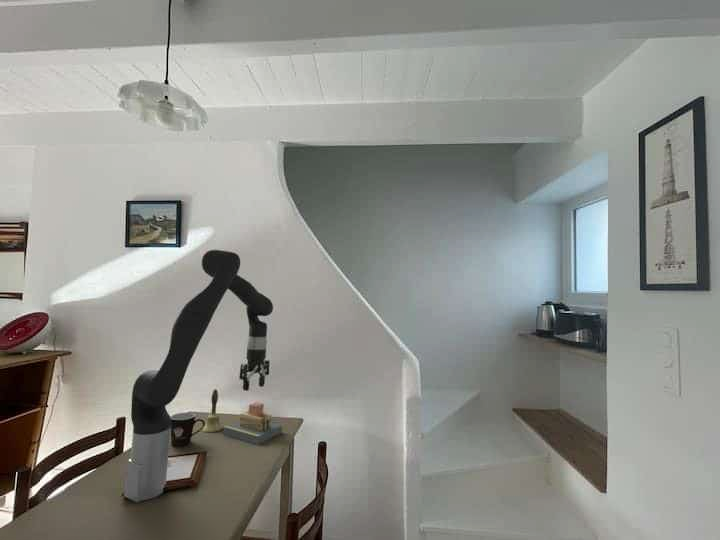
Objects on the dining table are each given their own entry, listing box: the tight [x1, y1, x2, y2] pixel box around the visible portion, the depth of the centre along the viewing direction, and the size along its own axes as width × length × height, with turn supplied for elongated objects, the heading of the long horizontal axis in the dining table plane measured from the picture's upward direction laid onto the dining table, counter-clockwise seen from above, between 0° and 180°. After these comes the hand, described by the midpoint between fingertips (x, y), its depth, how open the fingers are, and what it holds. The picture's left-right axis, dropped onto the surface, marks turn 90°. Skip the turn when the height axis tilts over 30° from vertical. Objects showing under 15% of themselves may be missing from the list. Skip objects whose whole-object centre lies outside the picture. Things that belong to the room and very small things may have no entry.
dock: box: [223, 420, 283, 446], centre depth 143 cm, size 14×18×3 cm
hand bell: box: [201, 389, 224, 433], centre depth 148 cm, size 8×8×16 cm
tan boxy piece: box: [239, 410, 272, 432], centre depth 143 cm, size 6×11×5 cm, turn 62°
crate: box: [248, 401, 265, 416], centre depth 143 cm, size 4×4×4 cm
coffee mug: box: [170, 411, 206, 448], centre depth 132 cm, size 12×9×10 cm
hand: (253, 388), depth 142 cm, fingers open, 8 cm apart
